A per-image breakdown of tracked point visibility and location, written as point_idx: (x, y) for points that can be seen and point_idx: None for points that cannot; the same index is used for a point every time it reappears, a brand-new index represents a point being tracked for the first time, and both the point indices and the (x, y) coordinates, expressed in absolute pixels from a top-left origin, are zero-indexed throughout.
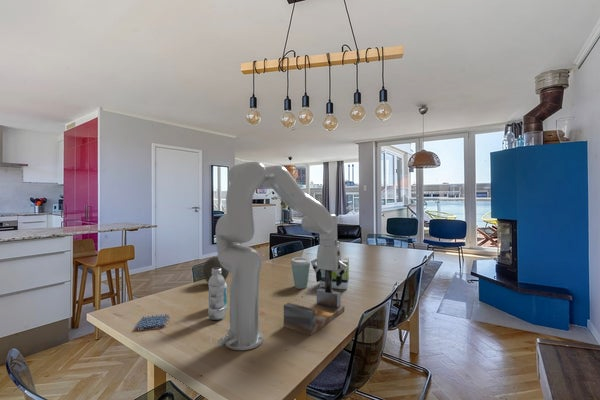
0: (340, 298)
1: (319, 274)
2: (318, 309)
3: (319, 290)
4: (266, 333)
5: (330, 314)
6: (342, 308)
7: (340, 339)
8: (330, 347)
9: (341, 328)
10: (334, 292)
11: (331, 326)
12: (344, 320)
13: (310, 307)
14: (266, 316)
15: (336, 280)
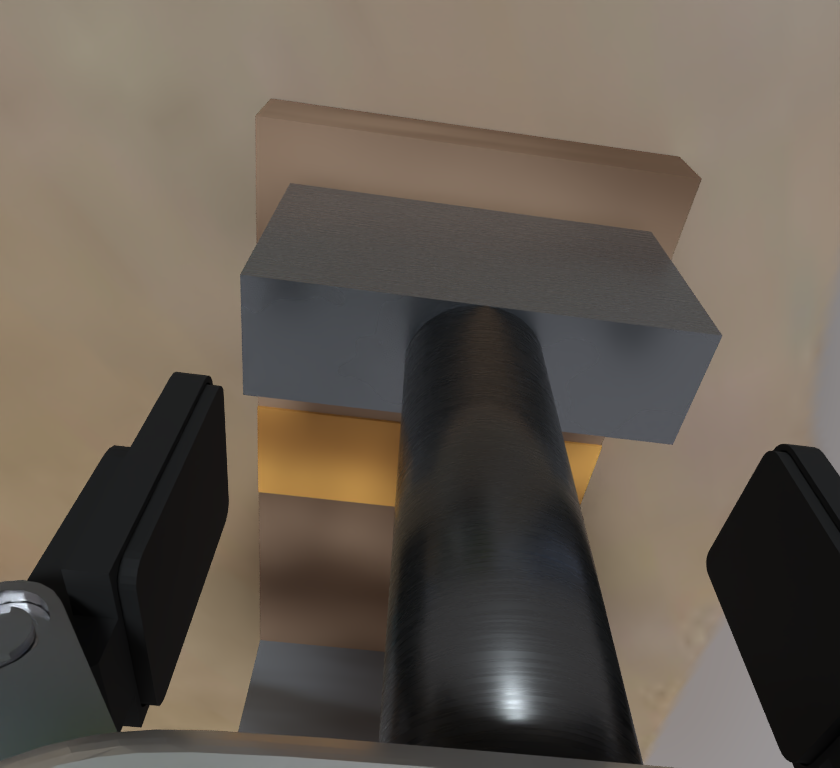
0: (684, 288)
1: (171, 602)
2: (400, 416)
3: (298, 389)
4: (240, 716)
5: (574, 475)
6: (674, 236)
7: (709, 639)
8: (661, 708)
9: (698, 528)
10: (601, 375)
11: (607, 530)
12: (708, 396)
13: (290, 412)
14: (27, 578)
15: (754, 672)
